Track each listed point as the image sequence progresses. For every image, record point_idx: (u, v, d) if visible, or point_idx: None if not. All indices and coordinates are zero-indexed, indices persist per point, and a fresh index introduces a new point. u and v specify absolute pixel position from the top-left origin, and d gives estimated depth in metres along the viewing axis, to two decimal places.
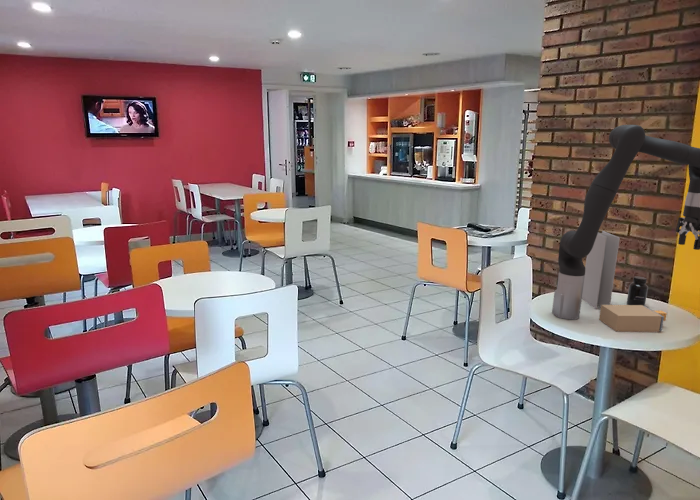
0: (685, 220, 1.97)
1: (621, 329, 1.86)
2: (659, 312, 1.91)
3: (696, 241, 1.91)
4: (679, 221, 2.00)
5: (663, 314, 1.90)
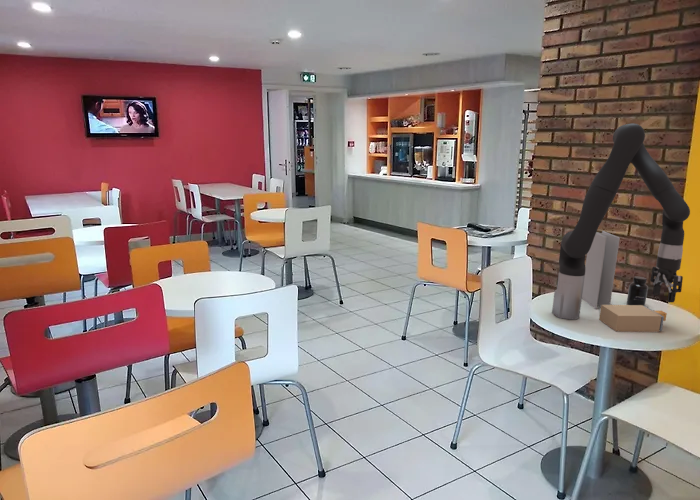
0: (659, 270, 1.91)
1: (621, 329, 1.86)
2: (659, 312, 1.91)
3: (670, 294, 1.85)
4: (653, 271, 1.94)
5: (663, 314, 1.90)
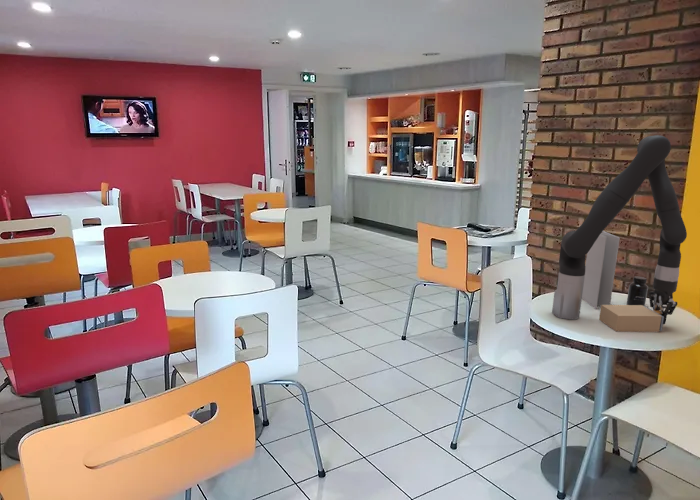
0: (654, 293, 1.93)
1: (621, 329, 1.86)
2: (659, 312, 1.91)
3: None
4: (650, 295, 1.95)
5: None
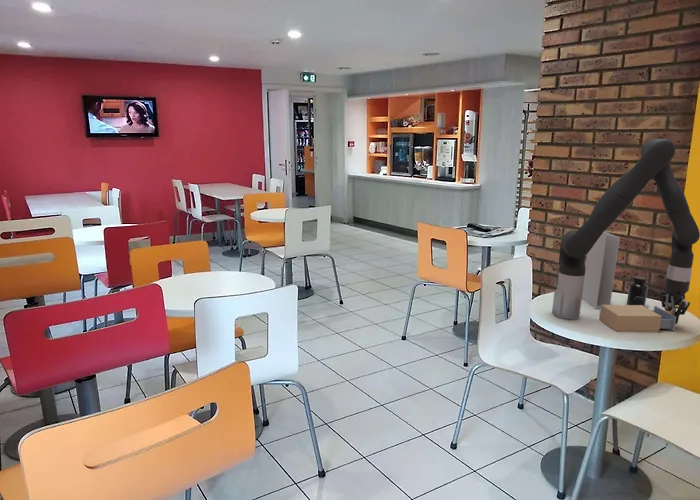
0: (666, 294, 1.93)
1: (621, 329, 1.86)
2: (671, 312, 1.91)
3: None
4: (662, 295, 1.95)
5: None
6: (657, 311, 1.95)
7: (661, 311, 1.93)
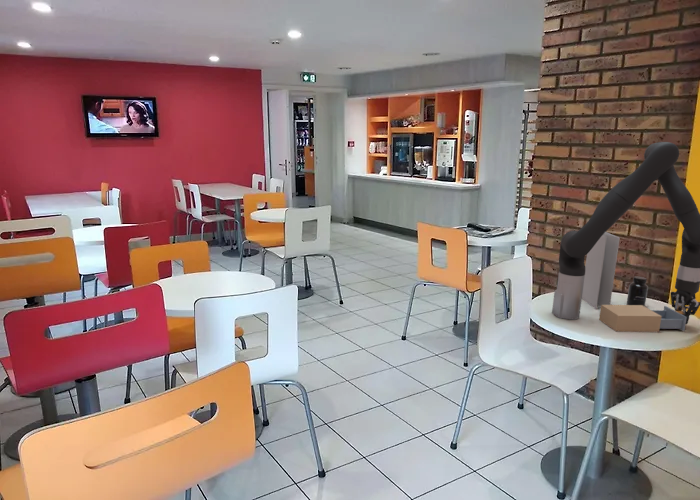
0: (676, 294, 1.93)
1: (621, 329, 1.86)
2: (681, 312, 1.91)
3: None
4: (672, 295, 1.96)
5: None
6: (667, 311, 1.95)
7: (671, 311, 1.93)
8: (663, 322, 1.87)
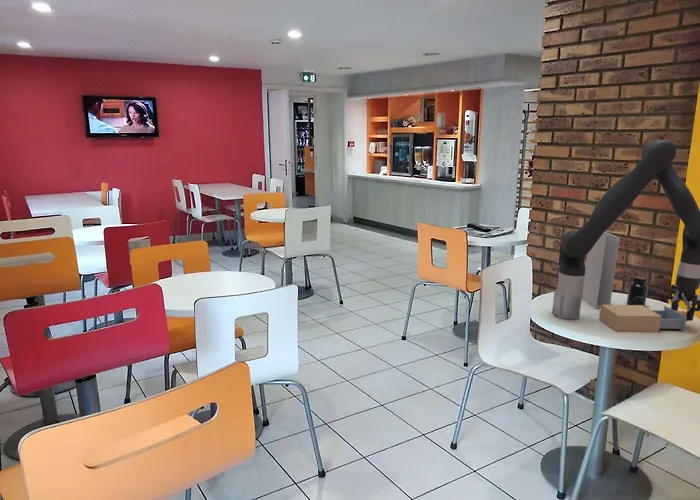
0: (677, 289, 1.93)
1: (621, 329, 1.86)
2: (681, 312, 1.91)
3: (688, 312, 1.87)
4: (671, 288, 1.96)
5: (685, 314, 1.90)
6: (667, 311, 1.95)
7: (671, 311, 1.93)
8: (663, 322, 1.87)
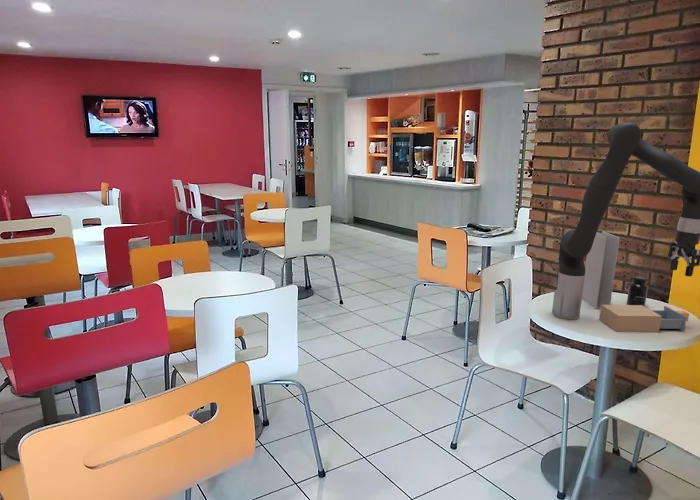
0: (677, 245, 1.91)
1: (621, 329, 1.86)
2: (681, 312, 1.91)
3: (688, 268, 1.86)
4: (671, 246, 1.95)
5: (685, 314, 1.90)
6: (667, 311, 1.95)
7: (671, 311, 1.93)
8: (663, 322, 1.87)
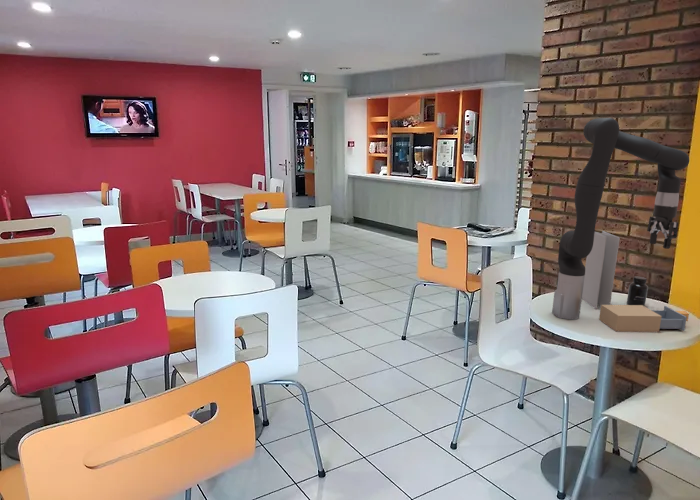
0: (655, 219, 1.99)
1: (621, 329, 1.86)
2: (681, 312, 1.91)
3: (666, 240, 1.93)
4: (650, 220, 2.02)
5: (685, 314, 1.90)
6: (667, 311, 1.95)
7: (671, 311, 1.93)
8: (663, 322, 1.87)
